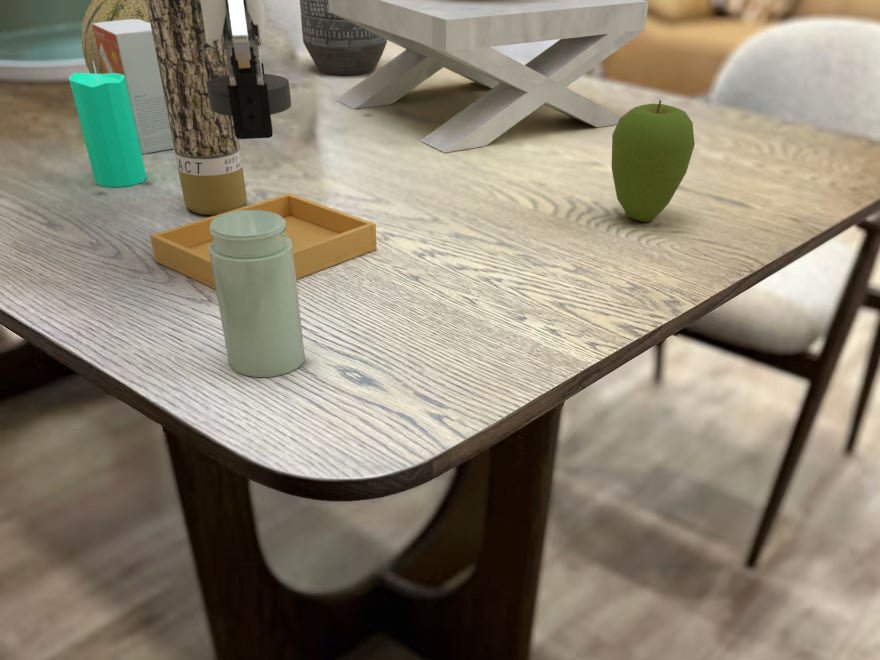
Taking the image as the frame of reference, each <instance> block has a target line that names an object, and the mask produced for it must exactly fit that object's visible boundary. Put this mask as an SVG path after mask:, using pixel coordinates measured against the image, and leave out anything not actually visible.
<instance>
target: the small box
mask: <svg viewBox="0 0 880 660" xmlns="http://www.w3.org/2000/svg"><path fill="white" fill-rule="evenodd" d="M92 27H93V31H94V35H95V39H96V43H97V48H98V52H99V56H100V61H101V65H102V70H103V74H109V73H117V74H122V75H124V76H125V80H126V84H127V89H128V94H129V98H130V103H131V108H132V112H133V117H134V121H135V126H136V131H137V135H138V140H139V145H140V149H141V154H142V155H146V154H152V153H157V152H161V151H163V152H164V151H168V150H174V146H173V140H172V135H171V130H170V124H169V119H168V114H167V109H166V103H165V98H164V93H163V87H162V82H161V77H160V72H159V66H158V61H157V56H156V50H155V45H154V40H153V34H152V29H151V24H150V23H148V22H145V21H143V20H140V19H129V20H117V21H108V22H100V23H93V24H92Z"/></svg>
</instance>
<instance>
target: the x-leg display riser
mask: <svg viewBox="0 0 880 660" xmlns="http://www.w3.org/2000/svg"><path fill="white" fill-rule="evenodd" d="M328 2H329V12H331V13H333V14H335V15H337V16H339V17H341V18H343V19H345V20H347V21H349V22H351V23H353V24H355V25H357V26H359V27H362V28H364V29H366V30H368V31H370V32H372V33H374V34H376V35H378V36H380V37H382V38H384V39H386V40H387V42H391V43H393V44H395V45H397V46H398V47H400V48H402V49H404V50H403V51H402V52H400V53H399V54H398V55H396V56H395V57H394V58H392V59H390V60H389V61H388V62H386V63H385V64H384V65H382V66H381V67H379V68H378V69H377V70H374V71H373V73H371V74H370V75H368V76H367V77H366V78H364V79H363V80H361V81H360V82H358V83H357V84H356V85H354V86H353V87H351V88H350V89H349V90H347V91H346V92H344V93H342V94H341V95H340V96H338V97H337V98H336V99H335V101H336V102H339V103H341V104H342V105H345V106H347V107H349V108H351V109H353V110H357V109H365V108H373V107H379V106H388V105H393V104H394V103H396V102H397V101H398V100H400V99H401V98H403V97H404V96H406V95H407V94H408V93H410V92H411V91H412V90H414V89H415V88H416V87H418V86H419V85H421V84H423V82H426V80H428V79H429V78H430V77H432V76H434V75H435V74H436V73H437V72H440V71H441V70H442V69H443V68H444V69H446V70H449V71H450V72H453V73H454V74H456V75H459V76H460V77H463V78H465V79H467V80H469V81H471V82H473V83H475V84H478V85H481V86H483V87H487V88H489V89H490V90H488V91H487V92H485V93H484V94H483V95H481V96H480V97H478V98H477V99H476V100H474V101H473V102H471V103H470V104H469V105H467V106H466V107H465V108H463V109H462V110H460V111H459V112H457V113H456V114H455V115H454V116H452V117H450V118H449V119H448V120H447V121H445V122H444V123H442V124H441V125H440V126H438V127H437V128H435V129H434V130H433V131H431V132H430V133H428V134H427V135H426V136H424V137H422V139H420V140H419V141H420V142H422V143H424V144H425V145H428V146H430V147H431V148H434V149H436V150H439V151H441V152H443V153H444V154H445V153H451V152H458V151H464V150H470V149H476V148H482V147H486V146H488V145H489V144H491V143H492V142H493V141H494V140H497V138H499V137H501V135H503V134H504V133H506V132H507V131H509V130H510V129H511V128H512V127H514V126H516V125H517V124H518V123H520V121H522V120H523V119H525V118H526V117H528V116H530V114H533V112H534V111H536V110H537V109H539V108H540V107H541V106H543V105H544V106H546V107H549V108H550V109H552V110H553V111H556V112H558V113H560V114H563V115H564V116H566V117H568V118H571V119H573V120H576V121H579V122H581V123H584V124H587V125H590V126H592V127H595V128H603V127H608V126H614V125H617V124H618V121H619V119H620V118H621V117H622V115H620V114H618V113H615V112H614V111H613V110H610V109H608V108H606V107H604V106H603V105H601V104H599V103H597V102H595V101H593V100H591V99H589V98H587V97H586V96H584V95H582V94H580V93H578V92H577V91H575V90H572V89H571V88H568V87H569V86H570V85H572V84H573V83H575V81H577V80H578V79H580V78H581V77H583V76H584V75H585V74H586V73H588V72H589V71H591V70H592V69H593V68H595V67H596V66H597V65H599V64H600V63H602V62H603V61H604V60H606V59H608V58H609V57H610V56H612V54H614V53H616V52H617V51H618V50H620V49H621V48H622V47H624V46H626V44H628V43H630V41H632V40H633V39H634V38H636V37H637V36H639V35H640V34H641V33H643V32H644V31H646V25H647V17H648V11H649V3H650V1H649V0H328ZM556 40H557V41H556ZM549 41H556V42H555V43H553V44H551V45H550V46H549V47H548V48H546V49H545V50H543V51H542V52H541V53H539V54H538V55H536V56H535V57H534V58H533V59H531V60H529V62H526V63H525V64H522V63H521V62H519V61H517V60H515V59H513V58H511V57H510V56H508V55H506V54H504V53H502V52H500V51H498V50H496V49H494V48H493V47H501V46H509V45H510V46H511V45H519V44H529V43H539V42H549Z"/></svg>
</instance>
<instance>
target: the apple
mask: <svg viewBox="0 0 880 660" xmlns="http://www.w3.org/2000/svg"><path fill="white" fill-rule="evenodd" d="M611 143H612V144H611V172H612V178H613V183H614V189H615V195H616V200H617V201H618V203H619V204H620V206H621V208H622V209H623V211H624V212H625V215H626V216H627V217H628V218H630V219H633V220H636V221H639V222H643V223H648V222H652V221H654V220H655V219H656V218H657V217H658V216H659V215H660V214H661V212H662V211H664V209H666V207H667V206H668V205H669V204H670V202H671V200H672V199H673V197H674V196H675V193H676V192H677V190H678V188H679V186H680V184H681V183H682V181H683V180H684V178H685V176H686V174H687V171H688V169H689V165H690V162H691V158H692V155H693V152H694V149H695V145H696V143H695V133H694V121H692V119H691V118H690V117H689V115H688V114H687V113H686V111H685V110H683V109H681V108H678V107H675V106H672V105H668V104H664V103H662V100H661V99H659V102H658V103H647V104H642V105H638V106H635V107H633V108H632V109H630V110H629V111H627V112H626V113H625V114H623V115H621V118H620V119H619V121H618V124H616V126H615V128H614V130H613V132H612V135H611Z"/></svg>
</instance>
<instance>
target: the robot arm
mask: <svg viewBox="0 0 880 660" xmlns="http://www.w3.org/2000/svg"><path fill="white" fill-rule="evenodd" d="M200 3H201V9H202V16H203V23H204V29H205V36H206V42H207V43H208V44H209V45H210V46H211V47H215V41H221V38H222V33H223V37H224V47H225V51H226V58H227V69H228V75H229V80H230V84H228V92H229V99H230V105H231V112H232V119H233V125H234V132H235V136H236V137H237V138H238V139H239V140H253V139H254V140H255V139H269V138H271V137H273V134H274V131H273V125H272V123H273V122H272V116H271V115H272V114H271V115H270V107H269V99H268V90H267V83H264V82H263V74H265V67H264V63H263V62H262V60H261V51H260V49H261V46H262V45H264V44H265V42H266V41H267V12H266V11H267V10H266V0H200ZM235 75H236V76H235ZM236 81H237V83H236Z"/></svg>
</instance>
